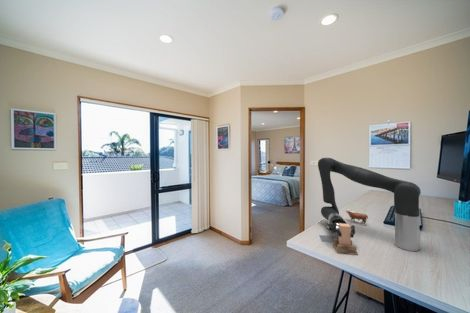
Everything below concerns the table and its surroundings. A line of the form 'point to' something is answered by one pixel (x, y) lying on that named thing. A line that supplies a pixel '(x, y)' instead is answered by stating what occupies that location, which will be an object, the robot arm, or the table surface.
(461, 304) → the table surface
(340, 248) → the slotted rack
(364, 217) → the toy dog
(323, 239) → the rubber mat
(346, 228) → the tall salmon pink block
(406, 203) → the robot arm
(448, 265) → the table surface
